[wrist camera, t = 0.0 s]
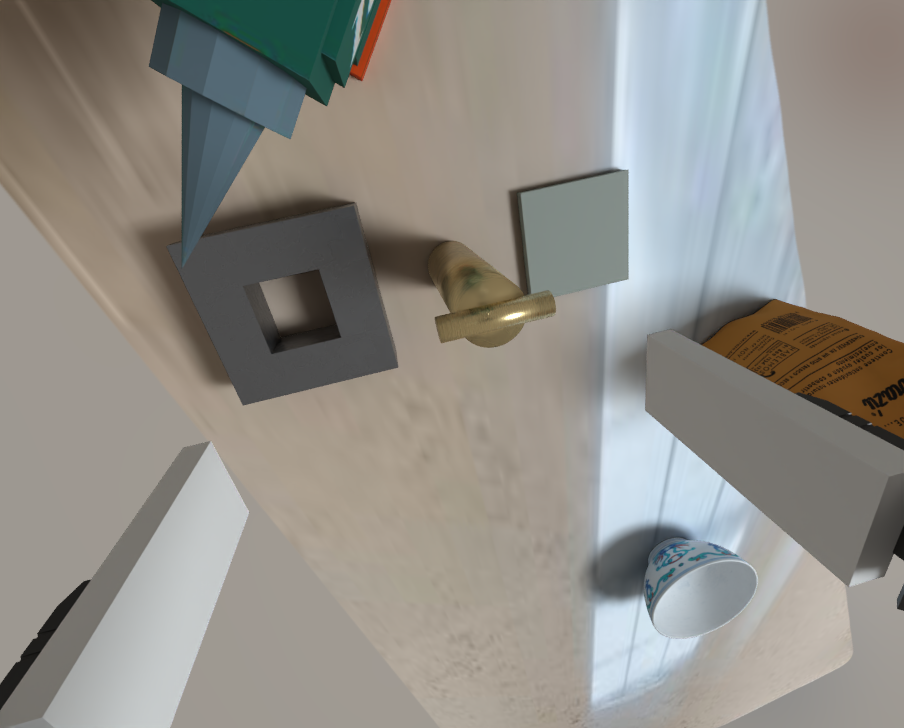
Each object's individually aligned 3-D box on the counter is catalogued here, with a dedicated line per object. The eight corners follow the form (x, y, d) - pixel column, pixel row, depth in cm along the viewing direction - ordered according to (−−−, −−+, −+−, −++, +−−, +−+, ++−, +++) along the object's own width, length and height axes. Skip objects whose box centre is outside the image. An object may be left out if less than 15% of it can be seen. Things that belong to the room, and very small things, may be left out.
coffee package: (798, 353, 50) (1071, 469, 31) (705, 405, 51) (913, 550, 31) (787, 284, 46) (1098, 367, 26) (685, 342, 47) (913, 464, 27)
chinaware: (622, 600, 65) (652, 651, 58) (619, 533, 58) (652, 581, 51) (711, 572, 66) (751, 619, 59) (718, 502, 59) (764, 546, 52)
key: (409, 250, 38) (432, 298, 23) (483, 233, 38) (552, 270, 23) (419, 296, 40) (447, 368, 25) (490, 280, 40) (558, 340, 25)
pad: (517, 192, 37) (520, 193, 36) (622, 169, 38) (628, 169, 37) (528, 299, 41) (532, 302, 41) (622, 276, 42) (628, 279, 41)
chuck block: (187, 238, 34) (166, 245, 31) (355, 202, 35) (353, 205, 32) (254, 384, 40) (242, 405, 37) (396, 350, 41) (398, 367, 38)
